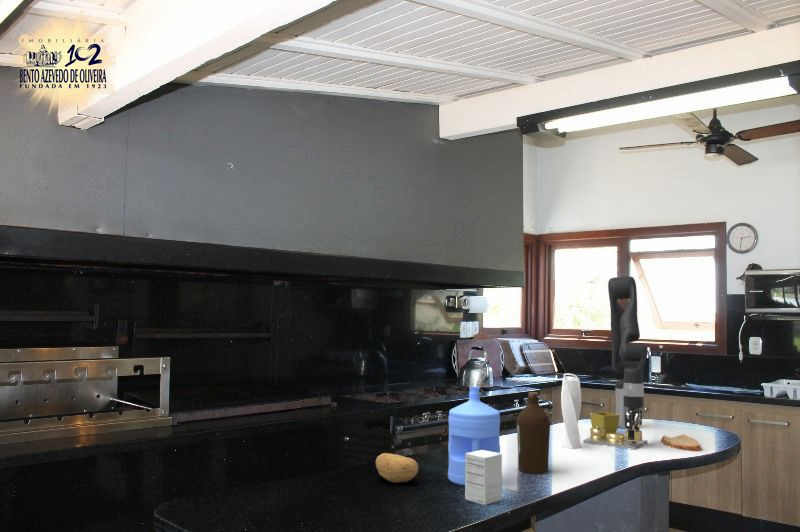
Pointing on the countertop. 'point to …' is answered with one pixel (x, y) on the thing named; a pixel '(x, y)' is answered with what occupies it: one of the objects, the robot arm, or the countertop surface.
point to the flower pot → (605, 421)
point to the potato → (396, 467)
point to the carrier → (611, 439)
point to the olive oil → (533, 437)
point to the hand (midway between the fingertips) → (633, 438)
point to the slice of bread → (682, 443)
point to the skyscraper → (571, 411)
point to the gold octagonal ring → (635, 435)
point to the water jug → (471, 433)
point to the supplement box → (483, 477)
